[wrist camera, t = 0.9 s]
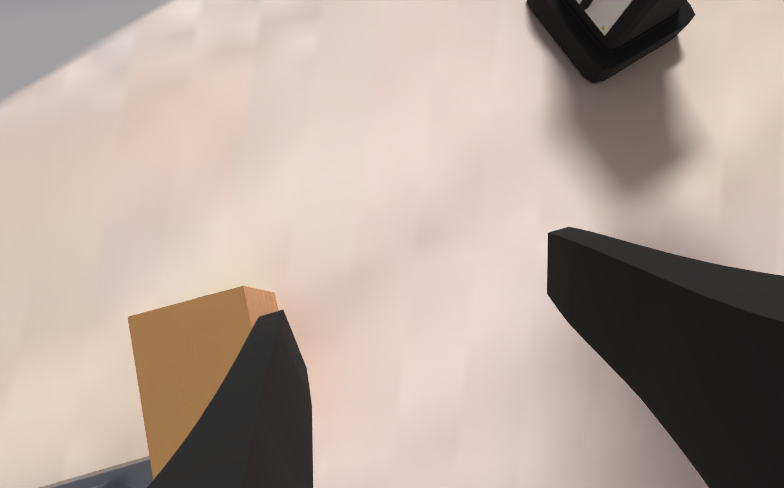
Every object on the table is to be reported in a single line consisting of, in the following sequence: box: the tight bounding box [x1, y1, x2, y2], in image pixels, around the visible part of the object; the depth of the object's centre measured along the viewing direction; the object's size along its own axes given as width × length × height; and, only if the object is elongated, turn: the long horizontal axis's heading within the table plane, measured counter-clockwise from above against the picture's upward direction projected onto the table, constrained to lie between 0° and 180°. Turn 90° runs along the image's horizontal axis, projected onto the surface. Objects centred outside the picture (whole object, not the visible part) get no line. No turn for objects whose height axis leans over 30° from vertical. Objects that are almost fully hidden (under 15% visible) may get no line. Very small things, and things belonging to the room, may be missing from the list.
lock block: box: [128, 286, 278, 480], centre depth 19 cm, size 7×5×5 cm
